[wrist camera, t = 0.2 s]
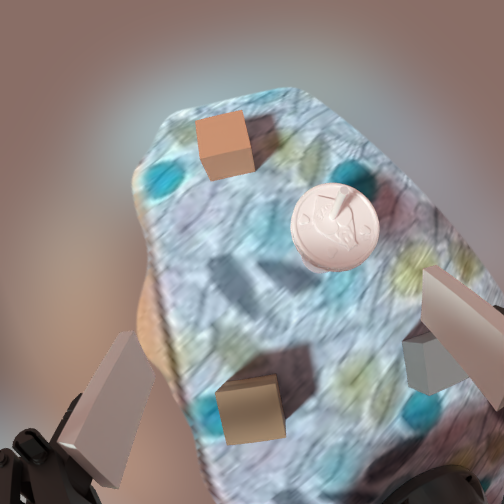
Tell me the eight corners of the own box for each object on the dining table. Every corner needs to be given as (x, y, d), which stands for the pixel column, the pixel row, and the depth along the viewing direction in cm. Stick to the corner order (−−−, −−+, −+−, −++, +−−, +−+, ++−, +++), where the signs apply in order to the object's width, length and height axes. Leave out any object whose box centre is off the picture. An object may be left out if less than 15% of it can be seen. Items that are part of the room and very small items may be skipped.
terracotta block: (255, 172, 32) (251, 147, 27) (210, 181, 32) (199, 158, 28) (247, 136, 34) (242, 110, 29) (205, 146, 34) (195, 120, 29)
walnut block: (285, 419, 26) (286, 437, 21) (235, 427, 26) (226, 445, 21) (276, 373, 27) (275, 383, 22) (225, 381, 27) (214, 392, 23)
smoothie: (327, 213, 30) (357, 134, 17) (363, 264, 29) (422, 217, 15) (275, 245, 30) (270, 181, 16) (310, 299, 28) (336, 278, 15)
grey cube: (446, 370, 25) (471, 376, 20) (408, 386, 25) (429, 395, 21) (440, 327, 26) (465, 326, 22) (401, 341, 27) (422, 343, 22)
